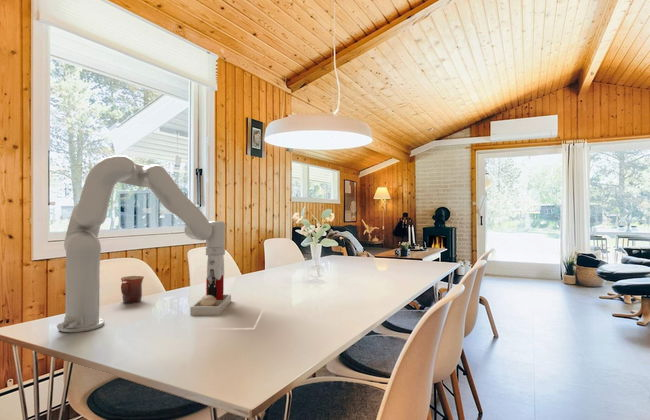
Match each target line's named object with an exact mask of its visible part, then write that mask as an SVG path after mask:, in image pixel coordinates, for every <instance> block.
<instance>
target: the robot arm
mask: <svg viewBox="0 0 650 420" xmlns="http://www.w3.org/2000/svg"><path fill="white" fill-rule="evenodd" d="M116 184H124V185H125V184H126V185H130V186H136V187H140V188H147V189H148V188H149V189H150V191H151V192H152V193H153V195H154V196H156V197H155V198H157V199H158V200H159V202H160V203H161V205H162V206H163V207H164V208H165V209H166V210H167V211H169V212H170V213H172V214H173V215H175V216H176V217H178V218H179V219H180V220H181V221H182V222H183V223H184V224H185V226H184V229H183V230H184V233H185V235H186V237H187V238H189V239H191V240H197V241H205V255H206V256H207V263H206V264H207V266H206V278H207V279H208V281H209V282H208V283H209V284H208V295H212V296H214V297H216V296H217V287H216V281H217V279H218V280H220V279H221V276H222V275H223V277H224V278H225V258H224V256H225V255H226V223H225V221H221V220H210V221H209V220H208V219H207V217H206V216H205V214H204V213H203V211H202V210H201V209H200V208H198V206H197V205H196V204H194V203H193V202H192V201H191V200H190V199H189V198H188V197H187V196H186V194H185V193H184V192H183V191H182V189H181V188H180V187H179V185H178V184H177V183H176V182H175V180H174V179H173V178H172V177H171V175H170V174H169V172H168V171H167V170H166V169H165V167H163V166H162V165H159V164H150V165H145V164H139V163H135V162H134V160H133V159H132V158H130V157H129V156H127V155H122V154H121V155H120V154H119V155H112V156H108V157H105V158H103V159H102V160H99V162H97V163H96V164H94V166H92V167H91V169H90V171H89V172H88V173H87V176H86V179H85V180H84V184H83V186H82V187H83V188H82V190H81V193H80V196H79V197H80V198H79V199H78V203H77V204H76V205H75V206H74V207H73V209H72V211H71V215H70V217H69V218H70V219H69V221H68V225H67V229H66V230H67V231H66V233H65V237H64V243H63V246H64V250H65V275H64V276H65V308H64V309H65V310H64V311H65V313H64V314H65V317H64V319H63V321H62V322H60V323H58V324H57V325H56V328H57V330H58V331H60V332H62V333H63V332H64V333H80V332H87V331H91V330H95V329H98V328H101V327H103V326H104V325H105V320H104V319H103V318H101V317H100V286H101V285H100V280H101V279H100V272H101V271H100V268H101V255H102V248H101V241H100V239H99V238H98V236H99V233H100V229H101V225H103V224H104V222H105V221H106V219H107V215H108V210H109V209H108V208H109V205H110V200H111V198H112V197H111V196H112V193H113V190H114V188H115V186H116ZM213 277H214V278H215V279H213Z"/></svg>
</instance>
